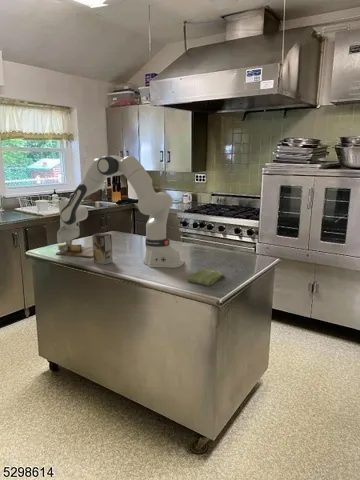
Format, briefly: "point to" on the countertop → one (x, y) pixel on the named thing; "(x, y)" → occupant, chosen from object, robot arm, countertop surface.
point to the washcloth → (205, 277)
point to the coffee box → (102, 248)
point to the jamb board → (76, 252)
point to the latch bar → (72, 247)
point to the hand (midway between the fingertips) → (69, 246)
